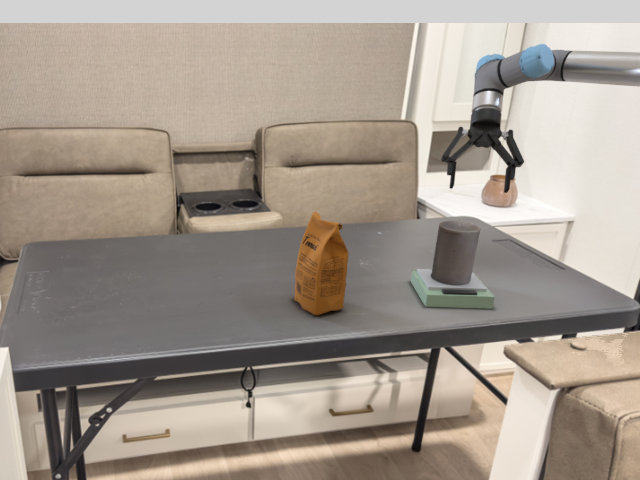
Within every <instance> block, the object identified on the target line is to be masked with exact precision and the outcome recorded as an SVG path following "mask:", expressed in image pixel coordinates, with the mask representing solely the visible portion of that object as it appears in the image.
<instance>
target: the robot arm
mask: <svg viewBox="0 0 640 480" xmlns="http://www.w3.org/2000/svg"><path fill="white" fill-rule="evenodd" d="M542 81H543V82H544V81H549V82H564V83H565V82H566V83H567V82H568V83H580V84H581V83H582V84H583V83H584V84H596V85H609V86H611V85H612V86H626V87H638V88H639V87H640V51H604V50H603V51H602V50H600V51H599V50H568V49H567V50H565V49H551V48H550V47H549V46H548V45H547V44H546V43H540V44H536V45H534V46H529V47H527V48H526V49H524V50H521V51H519V52H516V53H514V54H511V55H510V56H507V57H505V56H504V55H503V54H499V53H493V54H486V55H484V56H482V57H480V58H479V60H478V61H477V62H476V67H475V72H474V87H473V95H472V104H471V115H470V124H469V129H467V128H464V127H463V126H459V127H458V129H457V131H456V134H455V136H454V137H453V139H452V141H451V142H450V144H449V145H448V147H447V148H446V150H444V153H443V154H442V155H441V158H440V160H441V162H442V163H446V164H447V166H446V167H447V168H446V175H447V176H450V179H449V189H451V190H452V189H454V186H455V180H456V171H457V160H458V159H459V158H461V157H462V156H463V155H464V154H465V153H466V152H467V151H468V150H470V149H471V148H472V147H473V146H474V147H476V148H485V149H489V148H492V150H493V151H495V152H496V154H497V155H498V156H499V157H500V159H501V160H502V161H503V162H504V163H505V164H506V166H507V167H506V168H505V177H504V187H503V193H504V194H508V192H509V191H510V190H511V181H513V180H514V179H515V177H516V169H517V168H521V167H522V166H523V165H524V164H525V160H524V157H523V155H522V153H521V151H520V149H519V147H518V145H517V143H516V140H515V138H514V130H513V129H508V131H507V130H506V131H502V129H501V125H502V112H503V102H504V92H505V90H507V89H509V88H512V87H514V86H517V85H521V84H523V83H527V82H542ZM466 135H467V137H468V141H466V142H465V143H464V144H463V145H462V146H461V147H460V148H458V149H457V150H456V152H454V153H453V151H454V149H455V148H456V146H457V145H458V144H459V142H460V140H461V139H462V138H464V137H465V136H466ZM501 138H502V139H503V140H504V141H505V143H506V145H507V148H508V150H509V151H508V150H507V149H506V147H504V145H503V144H502V141H501V140H500V139H501ZM509 152H510V153H509ZM451 153H453V154H452V155H451Z"/></svg>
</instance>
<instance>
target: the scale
mask: <svg viewBox="0 0 640 480" xmlns="http://www.w3.org/2000/svg"><path fill="white" fill-rule="evenodd" d="M431 274H432V268H431V269H430V268H416V270H411V277H410V283H411V285H412V287H413V288H414V290H415V292H416V294H417V295H418V297H419V298H420V300H421V302H422V304H423V305H424V307H426V308H453V309H455V308H456V309H488V310H491V309H492V310H493V307H494V303H495V297H496V296H495V295H494V294H493V293H492V292H491V291H490V290H489V288H488V287H487V286H486V285H485V284H484V282H482V281H481V279H480V278H479V277H478V276H477V275H476V273H474V272H473V271H472V275H471V280H470V282H469V283H467V284H464V285H452V284H445V283H441V282H438V281H436V280H434V279H433V278H432V277H431Z"/></svg>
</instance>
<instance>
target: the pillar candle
mask: <svg viewBox="0 0 640 480" xmlns="http://www.w3.org/2000/svg"><path fill="white" fill-rule="evenodd" d="M481 230H482V229H481V227H480V226H479V225H476V224H475V223H471V222H467V221H461V220H444V221H441V222H439V224H438V230H437V236H436V242H435V249H434V254H433V263H432V268H431V269H432V274H431V277H432V278H433V279H434V280H436V281H438V282H441V283H445V284H452V285H464V284H467V283H469V282H470V280H471V275H472V272H473V271H474V266H475V261H476V254H477V248H478V245H479V238H480V233H481Z"/></svg>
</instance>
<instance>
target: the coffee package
mask: <svg viewBox="0 0 640 480" xmlns="http://www.w3.org/2000/svg"><path fill="white" fill-rule="evenodd" d="M342 229H343V225H342V224H341V223H339V222H335V221H329V220H325V219H324V220H323V219H322V217H321V215H320V213H318V212H317V211H313V212H312V214H311V217H310V220H309V221H308V223H307V226H306V229H305V232H304V234H303V236H302V239H301V242H300V244H299V249H298V254H297V255H298V256H297V260H296V265H295V266H296V267H295V272H294V274H295V275H294V276H295V278H294V280H295V282H294V283H295V284H294V301H295V302H296V303H299V305H300V306H301V308H302V310H304V311H305V312H307V313H310V314H312V315H313V316H321V315H323V314H326V313H329V312H333V311H340V310H342V309H344V303H345V296H346V295H345V294H346V288H347V275H348V263H349V255H350V253H349V251H348V247H347V245H346V244H345V241H344V239H343V238H342V234H341V232H340V230H342Z"/></svg>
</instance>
